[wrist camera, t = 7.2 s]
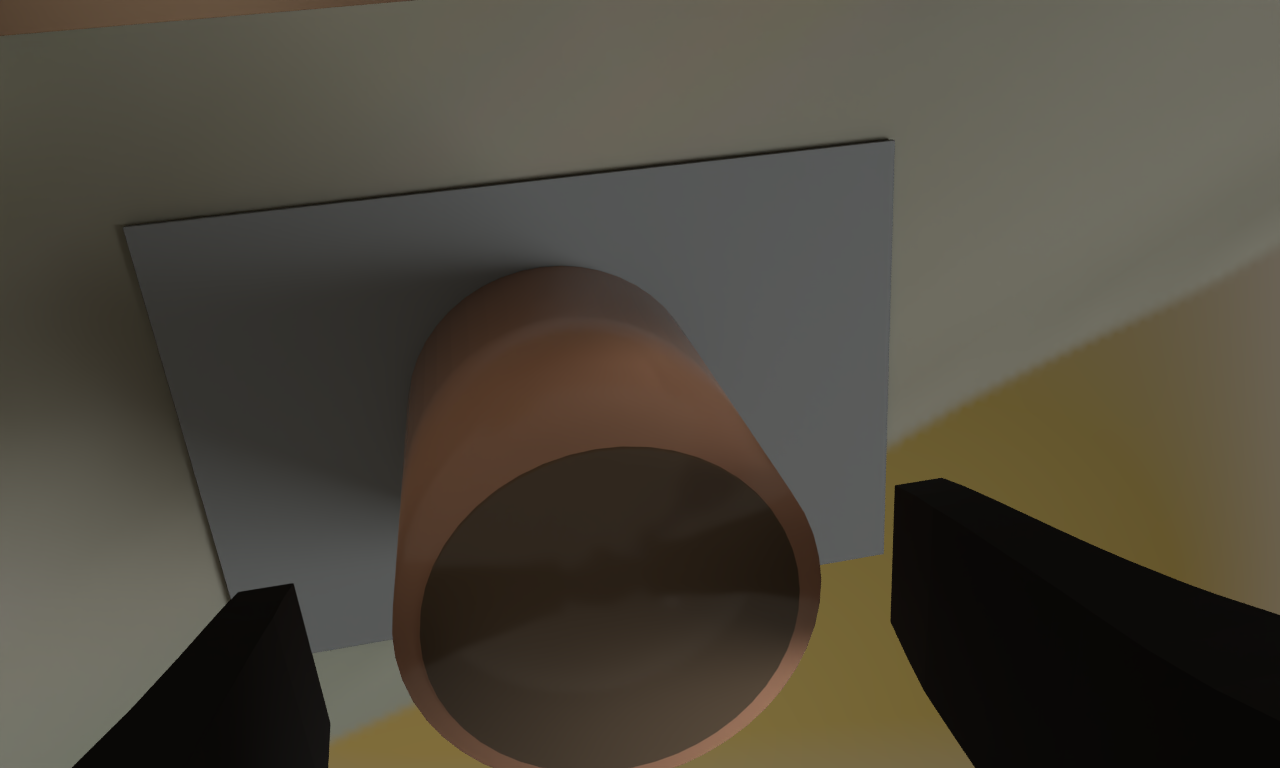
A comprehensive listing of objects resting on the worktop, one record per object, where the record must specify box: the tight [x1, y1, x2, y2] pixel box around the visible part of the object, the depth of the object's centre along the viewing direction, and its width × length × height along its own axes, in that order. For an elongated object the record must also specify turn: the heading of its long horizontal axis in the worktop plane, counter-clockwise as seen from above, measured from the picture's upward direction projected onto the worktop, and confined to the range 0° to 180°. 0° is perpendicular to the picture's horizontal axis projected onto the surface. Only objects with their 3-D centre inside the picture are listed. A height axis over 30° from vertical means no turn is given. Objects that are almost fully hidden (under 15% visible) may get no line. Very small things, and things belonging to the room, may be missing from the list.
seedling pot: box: [392, 266, 821, 768], centre depth 14 cm, size 5×5×6 cm
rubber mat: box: [123, 140, 895, 653], centre depth 17 cm, size 12×8×1 cm, turn 94°
